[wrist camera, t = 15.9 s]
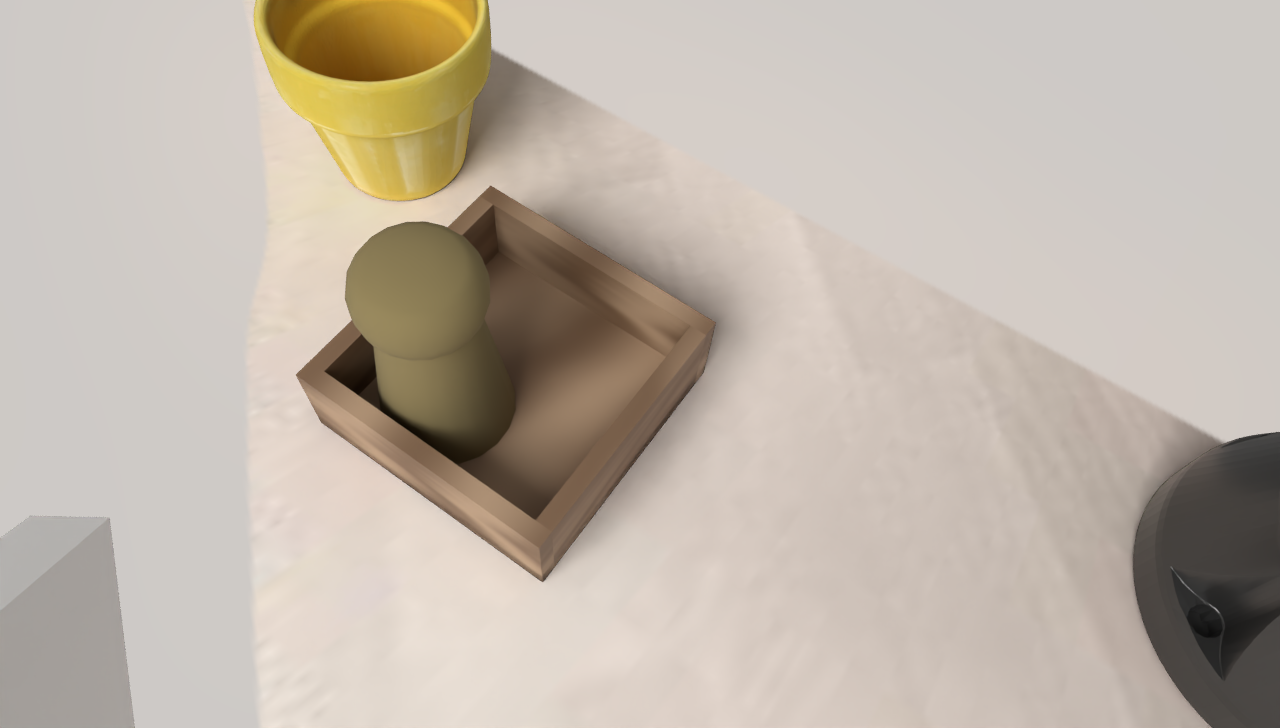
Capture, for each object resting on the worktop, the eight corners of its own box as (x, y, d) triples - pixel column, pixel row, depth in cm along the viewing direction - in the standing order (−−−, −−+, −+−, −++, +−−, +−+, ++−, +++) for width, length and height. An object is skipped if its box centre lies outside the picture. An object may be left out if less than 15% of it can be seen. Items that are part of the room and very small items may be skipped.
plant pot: (473, 67, 54) (454, -87, 46) (525, 202, 50) (515, 59, 41) (289, 105, 52) (234, -49, 43) (327, 251, 47) (273, 110, 39)
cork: (416, 489, 41) (366, 366, 31) (358, 382, 43) (295, 236, 33) (540, 425, 42) (529, 289, 33) (478, 325, 45) (450, 172, 35)
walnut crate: (703, 372, 45) (716, 322, 41) (542, 582, 40) (539, 548, 36) (497, 243, 48) (490, 185, 44) (321, 422, 43) (295, 374, 39)
